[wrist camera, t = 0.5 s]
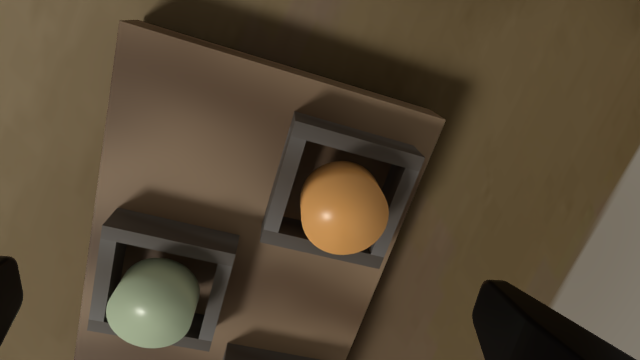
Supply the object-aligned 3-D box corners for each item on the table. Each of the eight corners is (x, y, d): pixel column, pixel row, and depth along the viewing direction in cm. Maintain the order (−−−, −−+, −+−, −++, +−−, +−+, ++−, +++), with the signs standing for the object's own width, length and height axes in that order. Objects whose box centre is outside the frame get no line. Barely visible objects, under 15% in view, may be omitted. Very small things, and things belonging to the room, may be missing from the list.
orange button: (364, 241, 18) (371, 262, 16) (290, 224, 17) (291, 244, 15) (390, 172, 16) (401, 188, 15) (313, 151, 16) (316, 165, 14)
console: (306, 419, 26) (309, 479, 22) (83, 385, 23) (50, 447, 20) (430, 109, 19) (460, 129, 16) (137, 20, 17) (101, 21, 14)
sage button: (191, 327, 18) (183, 354, 17) (116, 313, 18) (101, 340, 16) (206, 266, 17) (199, 290, 16) (127, 250, 17) (111, 272, 15)
